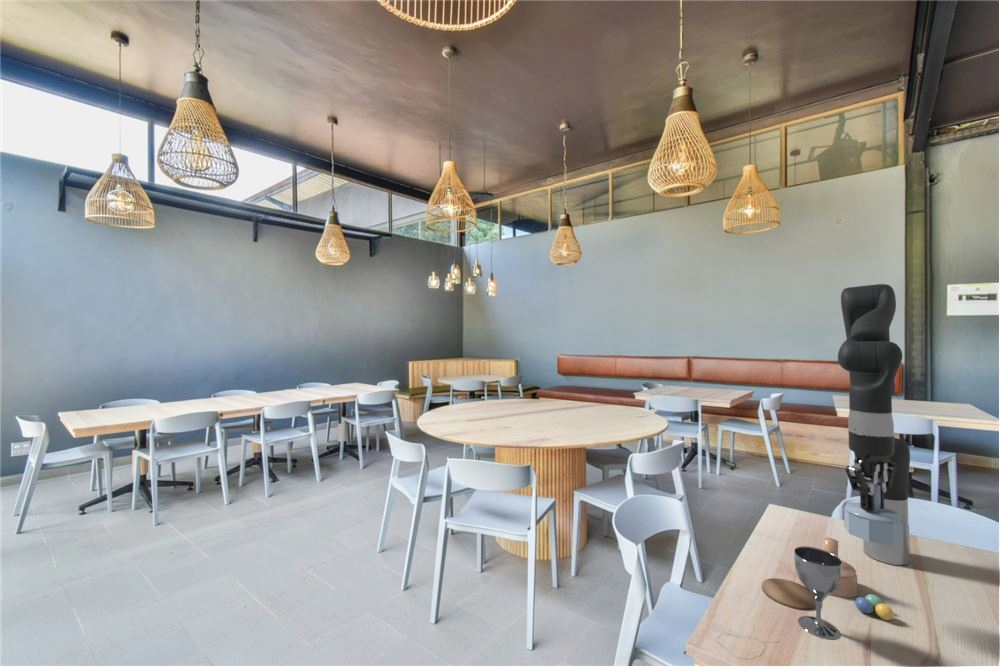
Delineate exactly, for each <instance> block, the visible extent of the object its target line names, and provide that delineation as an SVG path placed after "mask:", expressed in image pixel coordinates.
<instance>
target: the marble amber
mask: <svg viewBox="0 0 1000 667" xmlns="http://www.w3.org/2000/svg"><path fill="white" fill-rule="evenodd" d="M874 611H875V613H876V615H877V616H878V617H879V618H881V619H882V620H886V621H891V620H892V619H894V617H895V613H894V610H893V609H892V608H891V607H890V606H889V605H887V604H885V603H883V604H877V605H876V606H875V610H874Z"/></svg>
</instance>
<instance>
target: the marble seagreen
mask: <svg viewBox="0 0 1000 667" xmlns="http://www.w3.org/2000/svg"><path fill="white" fill-rule="evenodd" d="M864 598H866V599H867V600H869V601H870V602H871V603H872V605H873V611H875V606H876V605H877V604H884V603H883V601H882V599H881V598H880V597H879V596H877V595H876V594H867V595H866V596H865V597H864Z"/></svg>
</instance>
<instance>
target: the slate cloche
mask: <svg viewBox="0 0 1000 667" xmlns="http://www.w3.org/2000/svg"><path fill="white" fill-rule="evenodd" d="M866 485H867V488H868V483H866ZM873 495H874V511H872V512H869V511H866V510H863V509H862V508H861V506H860V502H849V503H847V504H845V506H844V507H843V516H844V517H843V518H844V519H843V520H844V523H843V525H844V528H845V530H846V532H848V533H849V535H852V536H853V537H856V538H859V539H862V540H863V539H864V540H866V541H869V542H874V543H880V544H886V545H896V544H899V543H903V542H904V537H903V521H902V520H901V516H900V515H899V514H898V513H896V512H894V511H892V510H890V509H887V508H884V509H881V491H880V485H879V484H876V485H874V493H873Z"/></svg>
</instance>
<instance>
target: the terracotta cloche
mask: <svg viewBox="0 0 1000 667" xmlns="http://www.w3.org/2000/svg"><path fill="white" fill-rule="evenodd" d="M823 550H825V551H828V552H830V553H832V554H834V555H836V556H837V557H839V541H838V540H837V539H835V538H833V537H832V538H831V537H823ZM841 561H842V576H841V582H840V585H839V587H838V589H837V590H836V591H835V592H834V593H832V594H831V595H830V596H834V597H839V598H844V599H849V598H852V597H855V596H858V574H857V572H856V571H857V570H856V569H855V568H854V566H852V564H849V563H848V562H846V561H844V560H842V559H841Z"/></svg>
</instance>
